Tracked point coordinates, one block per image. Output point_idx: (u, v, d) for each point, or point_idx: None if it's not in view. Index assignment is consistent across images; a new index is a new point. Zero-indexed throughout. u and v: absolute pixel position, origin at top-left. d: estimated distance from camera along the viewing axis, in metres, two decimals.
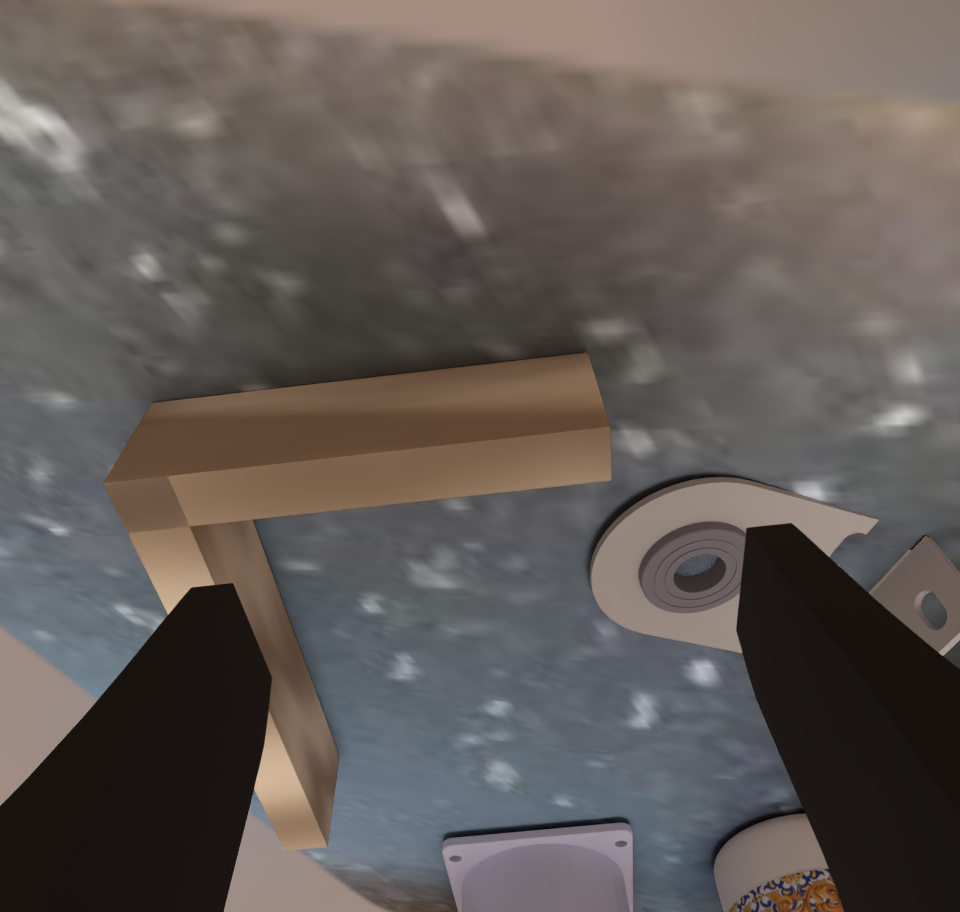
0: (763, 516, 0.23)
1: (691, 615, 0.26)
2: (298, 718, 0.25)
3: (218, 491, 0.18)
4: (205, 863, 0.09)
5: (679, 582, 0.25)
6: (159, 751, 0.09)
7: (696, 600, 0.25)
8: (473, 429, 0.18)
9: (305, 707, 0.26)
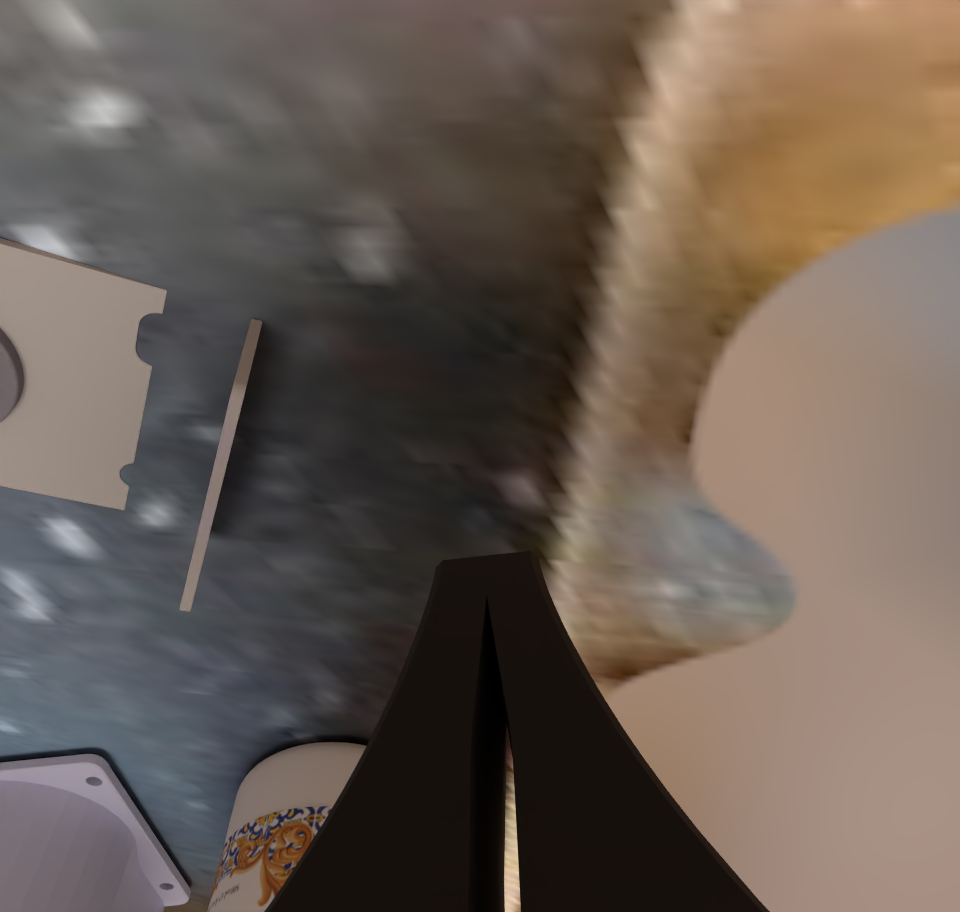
0: None
1: None
2: None
3: None
4: (496, 837, 0.09)
5: None
6: (480, 720, 0.08)
7: None
8: None
9: None
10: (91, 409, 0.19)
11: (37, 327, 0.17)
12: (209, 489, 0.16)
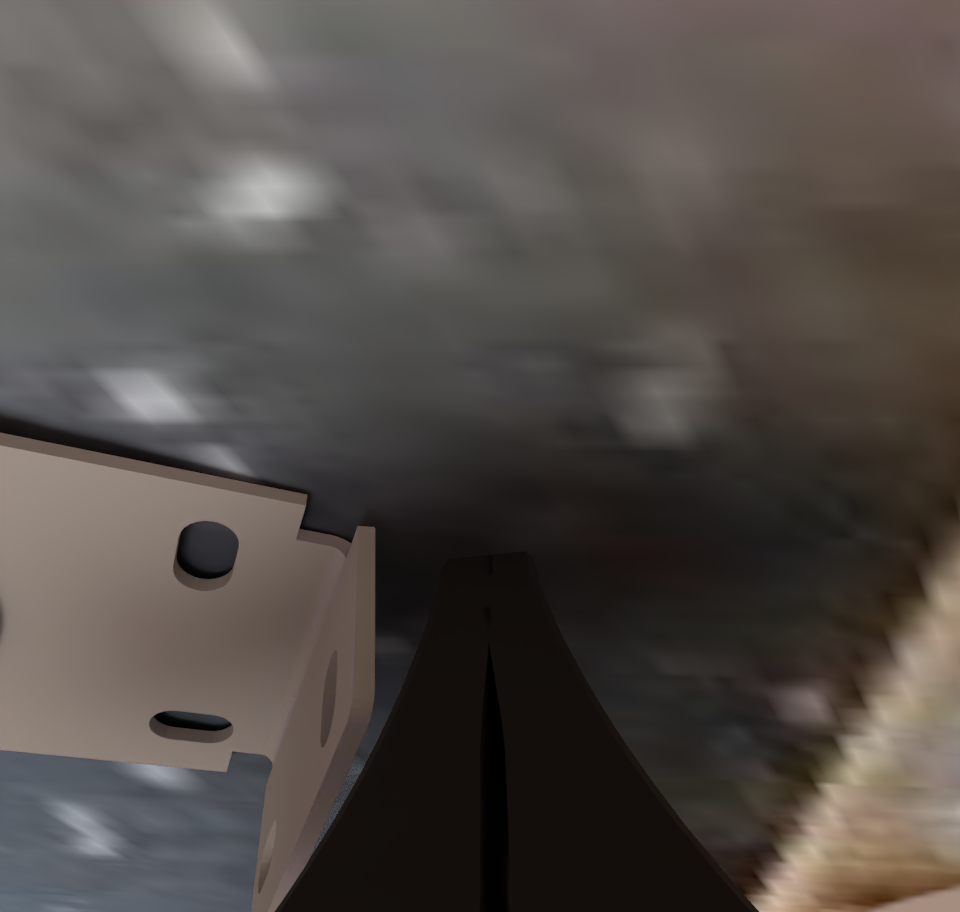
0: None
1: None
2: None
3: None
4: (504, 836, 0.09)
5: None
6: (488, 719, 0.08)
7: None
8: None
9: None
10: (105, 649, 0.12)
11: (17, 548, 0.11)
12: (303, 832, 0.10)
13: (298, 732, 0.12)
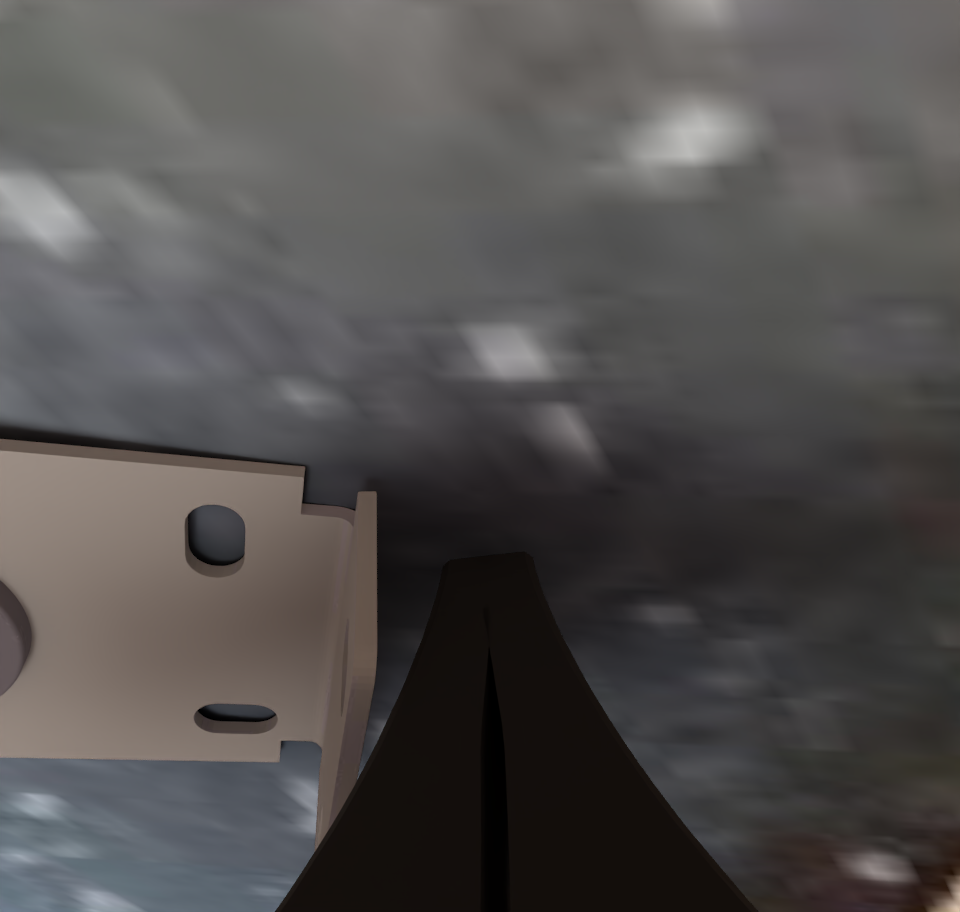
0: None
1: None
2: None
3: None
4: (504, 836, 0.09)
5: None
6: (489, 719, 0.08)
7: None
8: None
9: None
10: (137, 647, 0.12)
11: (32, 553, 0.11)
12: (334, 805, 0.10)
13: (332, 711, 0.12)
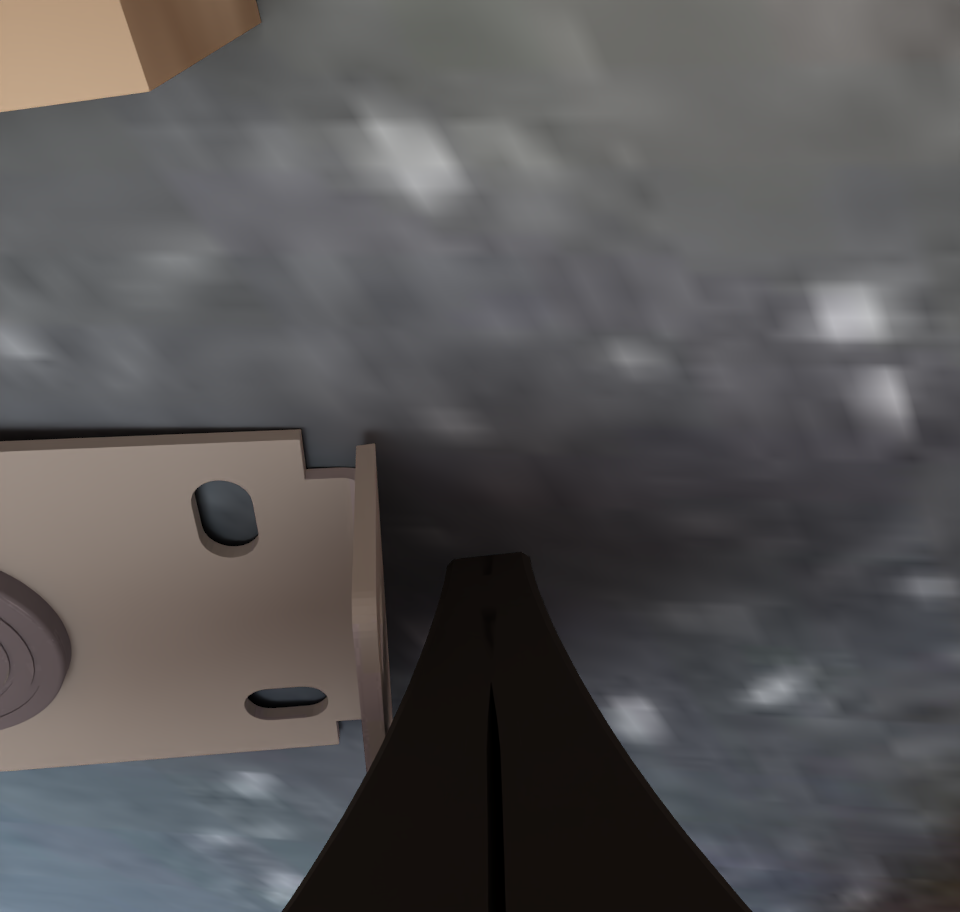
0: None
1: (54, 721, 0.13)
2: None
3: None
4: None
5: None
6: (494, 718, 0.08)
7: None
8: None
9: None
10: (173, 639, 0.12)
11: (51, 554, 0.11)
12: (368, 768, 0.09)
13: None
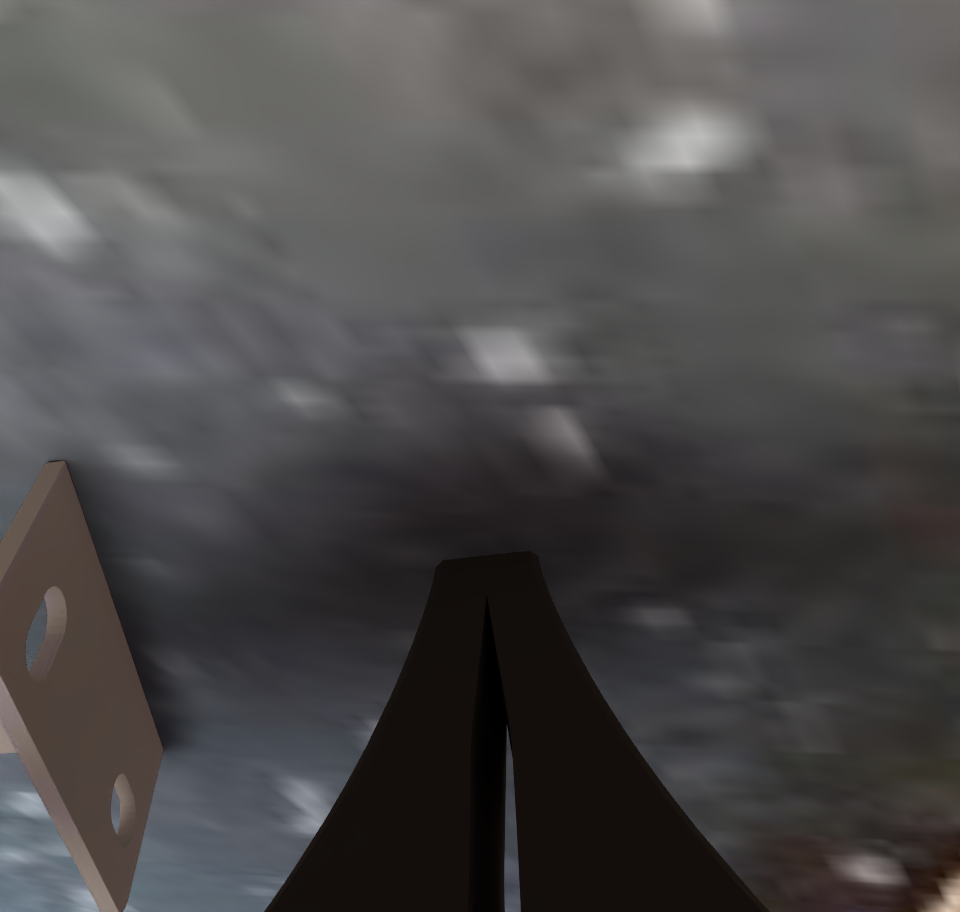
0: None
1: None
2: None
3: None
4: (496, 836, 0.09)
5: None
6: (480, 720, 0.08)
7: None
8: None
9: None
10: None
11: None
12: (28, 771, 0.10)
13: None
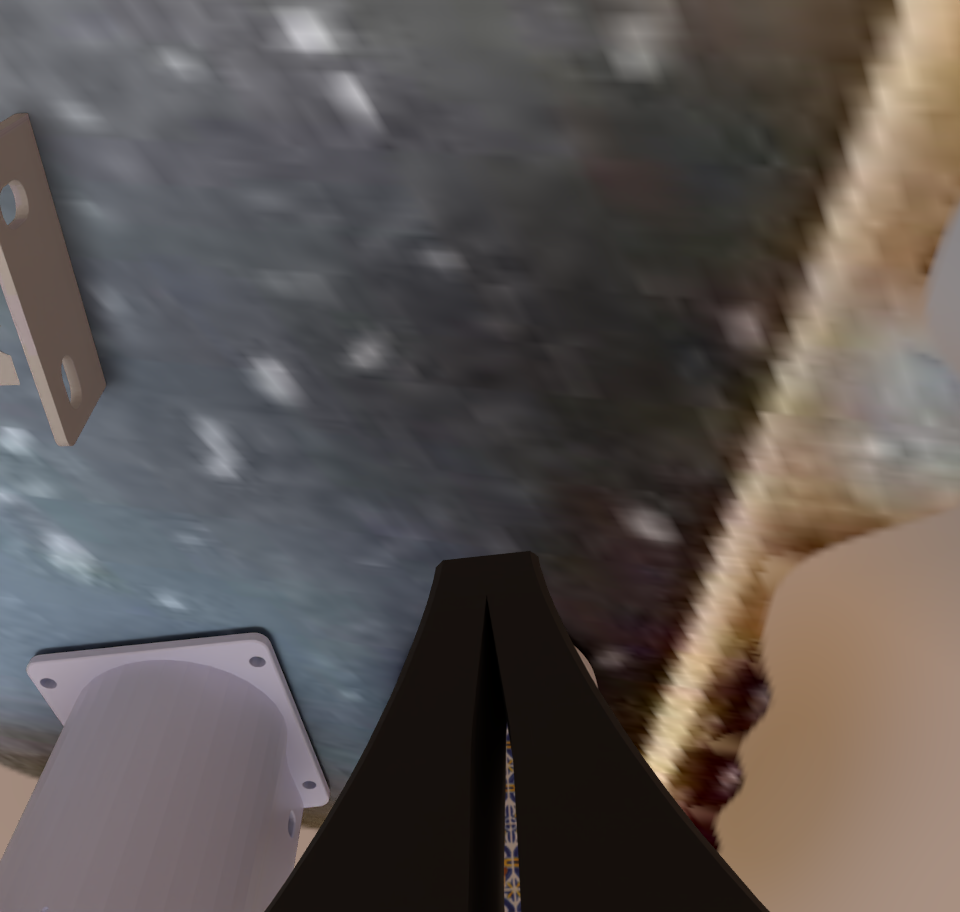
0: None
1: None
2: None
3: None
4: (496, 837, 0.09)
5: None
6: (480, 719, 0.08)
7: None
8: None
9: None
10: None
11: None
12: (2, 285, 0.15)
13: None
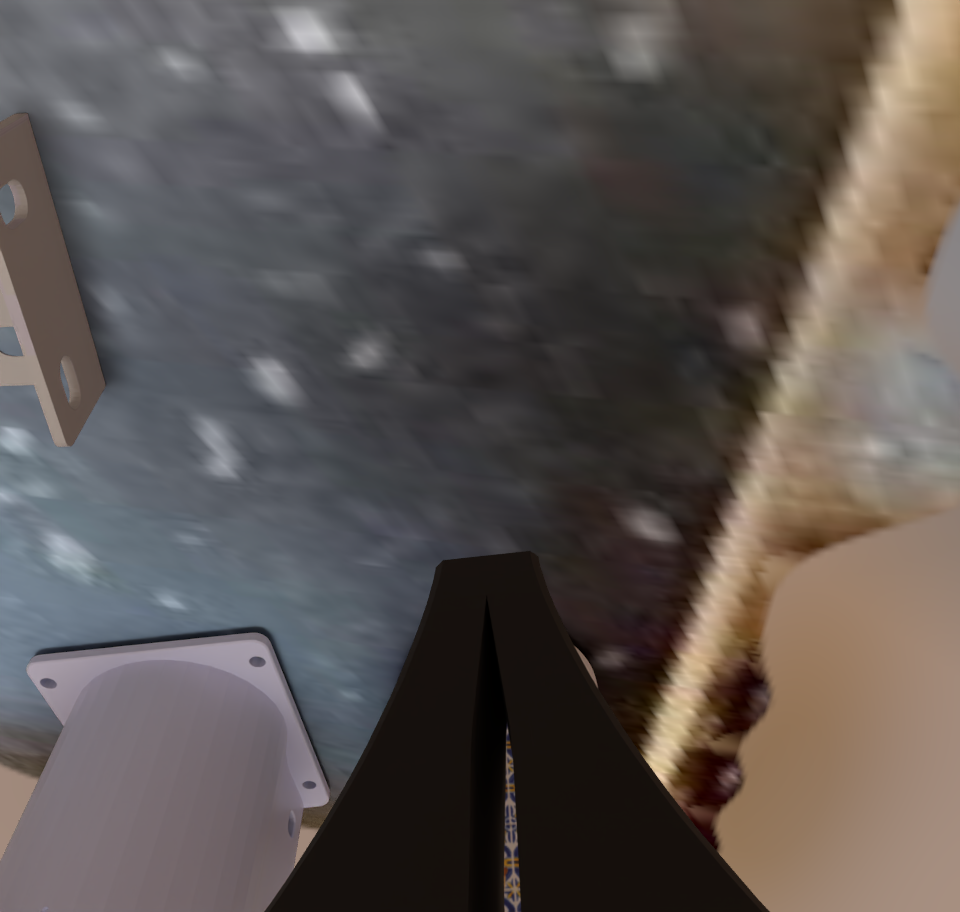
0: None
1: None
2: None
3: None
4: (496, 837, 0.09)
5: None
6: (480, 719, 0.08)
7: None
8: None
9: None
10: None
11: None
12: (0, 285, 0.15)
13: None
